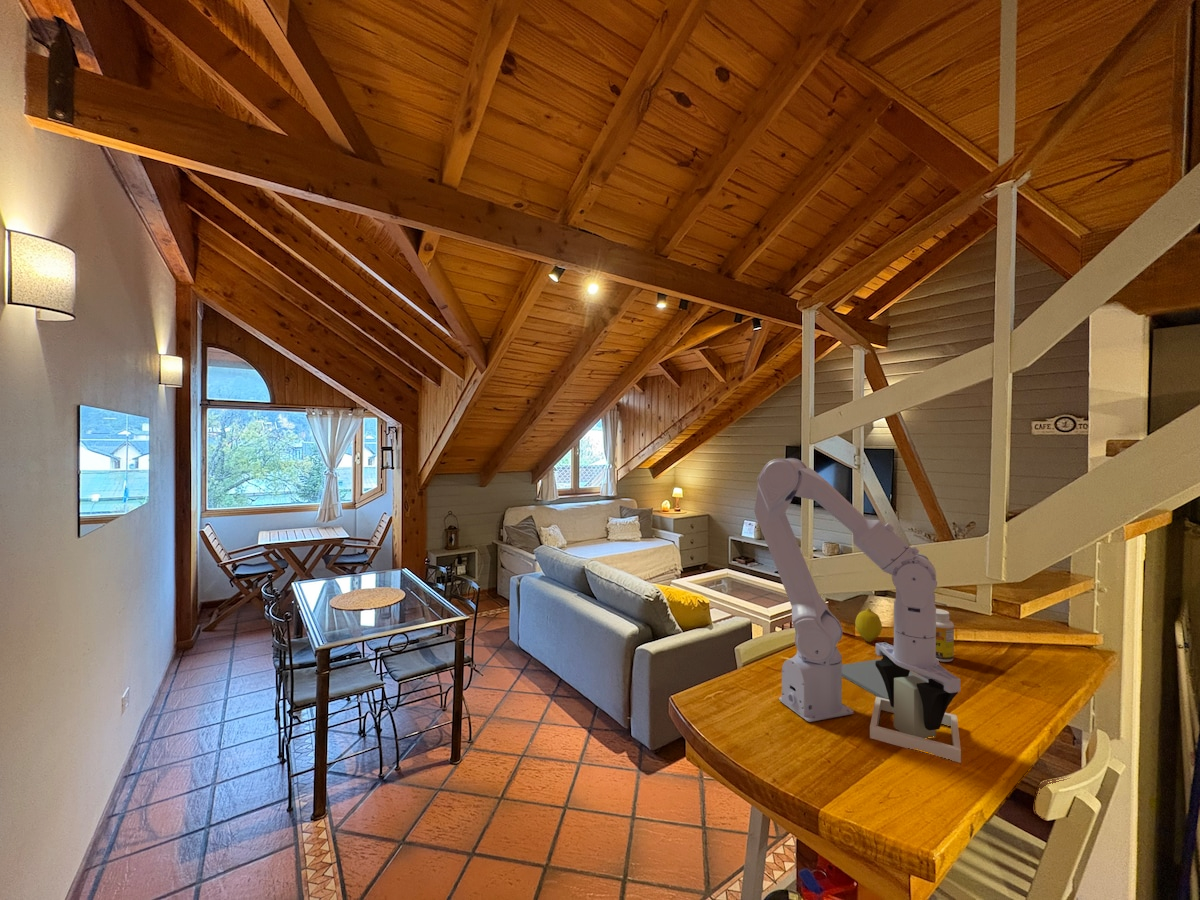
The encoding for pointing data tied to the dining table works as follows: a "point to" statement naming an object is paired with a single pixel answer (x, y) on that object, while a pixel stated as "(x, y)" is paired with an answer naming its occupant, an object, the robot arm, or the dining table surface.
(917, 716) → the block
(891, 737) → the rectangular frame
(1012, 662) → the dining table surface
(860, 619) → the fruit
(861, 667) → the mat
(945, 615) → the supplement bottle
